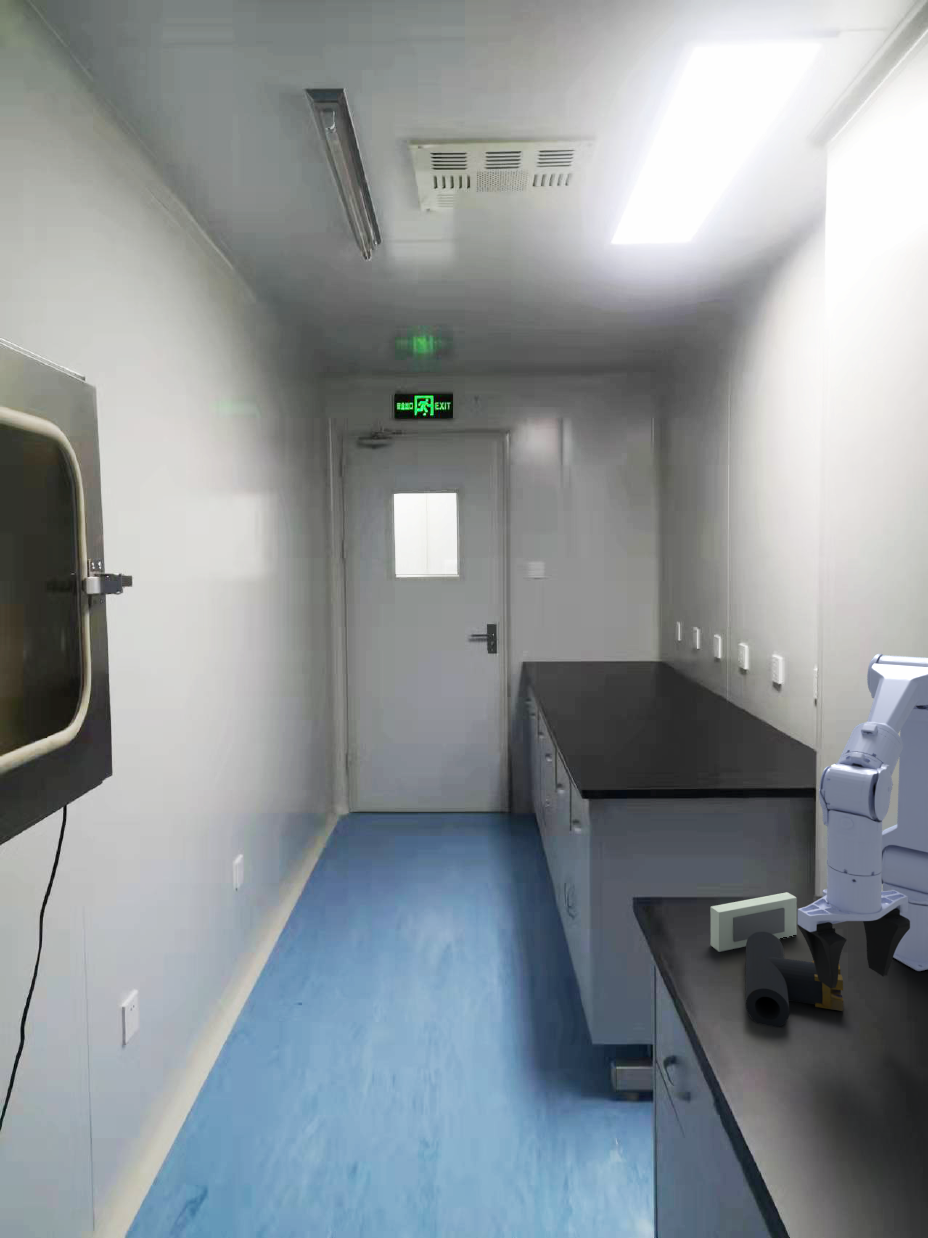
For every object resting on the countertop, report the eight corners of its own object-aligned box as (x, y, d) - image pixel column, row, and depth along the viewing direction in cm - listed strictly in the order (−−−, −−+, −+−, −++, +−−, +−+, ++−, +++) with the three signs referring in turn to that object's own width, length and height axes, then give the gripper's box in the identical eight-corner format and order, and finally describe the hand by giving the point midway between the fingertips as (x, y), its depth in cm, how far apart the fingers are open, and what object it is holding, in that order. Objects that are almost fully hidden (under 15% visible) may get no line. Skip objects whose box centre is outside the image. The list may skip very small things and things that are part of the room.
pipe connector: (834, 939, 100) (848, 999, 87) (835, 976, 101) (849, 1042, 87) (745, 928, 105) (745, 984, 91) (746, 964, 105) (746, 1025, 91)
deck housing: (787, 929, 113) (787, 892, 113) (798, 936, 111) (798, 898, 111) (710, 945, 109) (710, 906, 109) (720, 952, 107) (720, 913, 107)
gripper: (874, 846, 92) (872, 950, 93) (779, 862, 87) (778, 971, 88) (924, 867, 85) (922, 979, 86) (824, 886, 81) (823, 1003, 82)
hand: (852, 977), depth 87 cm, fingers open, 7 cm apart
